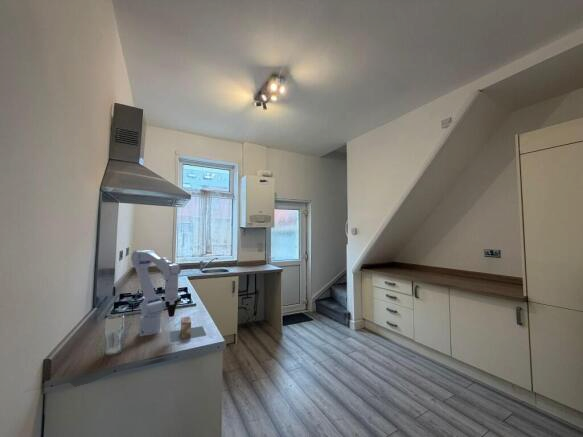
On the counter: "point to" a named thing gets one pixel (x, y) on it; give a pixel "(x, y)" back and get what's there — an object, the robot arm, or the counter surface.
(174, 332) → the rubber mat
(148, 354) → the counter surface
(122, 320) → the beer glass
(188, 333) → the mottled beige block
